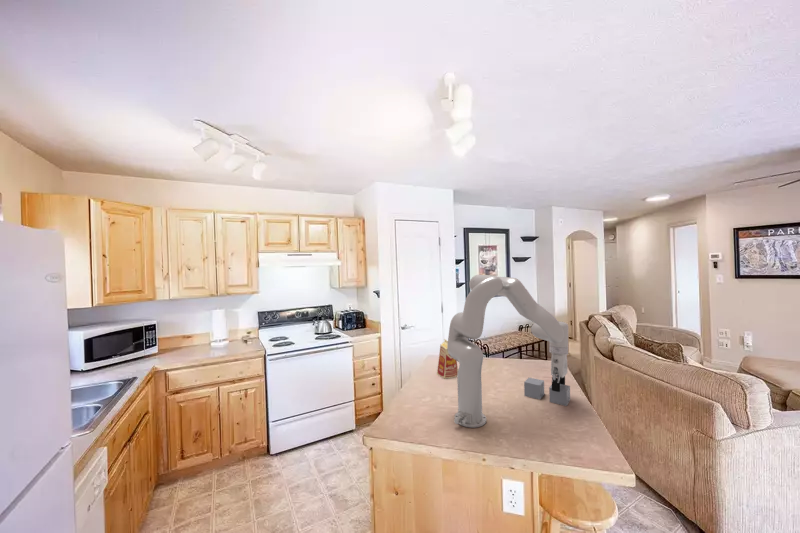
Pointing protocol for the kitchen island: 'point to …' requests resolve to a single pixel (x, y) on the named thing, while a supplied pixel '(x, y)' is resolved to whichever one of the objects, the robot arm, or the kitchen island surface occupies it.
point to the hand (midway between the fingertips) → (558, 387)
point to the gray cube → (534, 388)
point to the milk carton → (446, 363)
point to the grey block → (560, 395)
